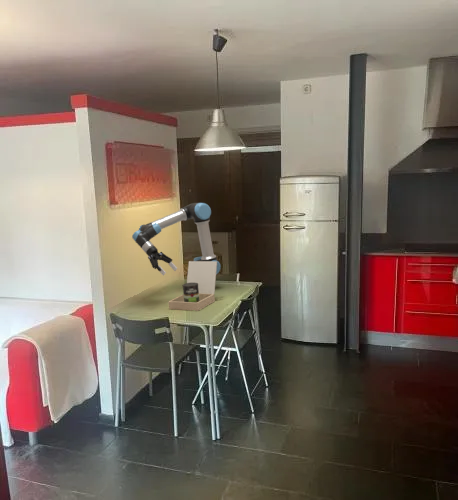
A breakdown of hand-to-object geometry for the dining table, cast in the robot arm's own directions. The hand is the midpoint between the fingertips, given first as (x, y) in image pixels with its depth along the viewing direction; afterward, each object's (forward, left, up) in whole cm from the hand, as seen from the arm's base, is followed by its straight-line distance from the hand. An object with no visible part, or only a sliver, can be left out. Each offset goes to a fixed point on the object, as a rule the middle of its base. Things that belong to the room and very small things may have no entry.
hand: (170, 271), depth 299 cm
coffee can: (-1, +14, -22) cm, 27 cm away
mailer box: (-5, +14, -22) cm, 27 cm away
